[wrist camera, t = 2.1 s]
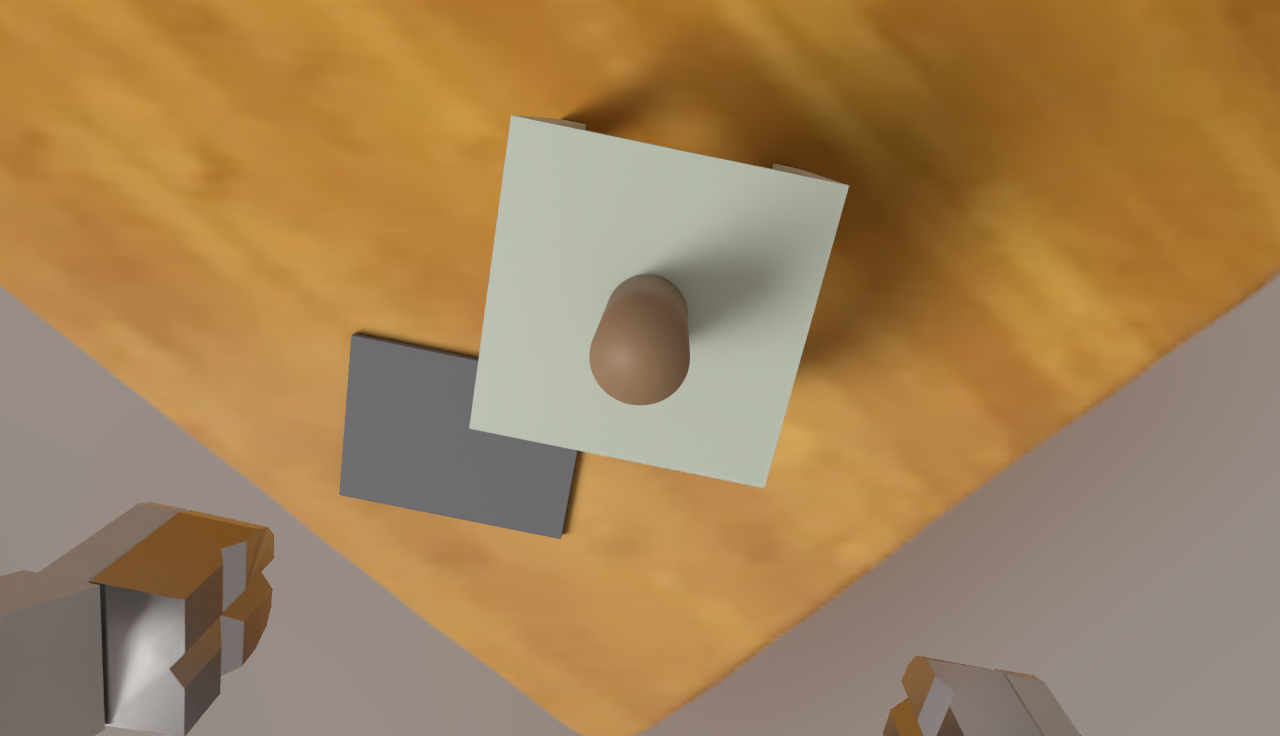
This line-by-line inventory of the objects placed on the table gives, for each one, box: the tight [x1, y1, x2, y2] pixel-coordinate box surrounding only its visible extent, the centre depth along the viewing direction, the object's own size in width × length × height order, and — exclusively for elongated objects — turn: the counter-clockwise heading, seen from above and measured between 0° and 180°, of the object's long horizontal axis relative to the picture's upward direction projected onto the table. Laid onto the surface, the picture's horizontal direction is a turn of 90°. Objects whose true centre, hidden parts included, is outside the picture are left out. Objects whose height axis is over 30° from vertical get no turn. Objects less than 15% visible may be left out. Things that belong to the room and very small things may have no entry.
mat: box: [340, 333, 578, 539], centre depth 38 cm, size 12×9×1 cm
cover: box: [469, 115, 849, 488], centre depth 28 cm, size 11×11×15 cm
